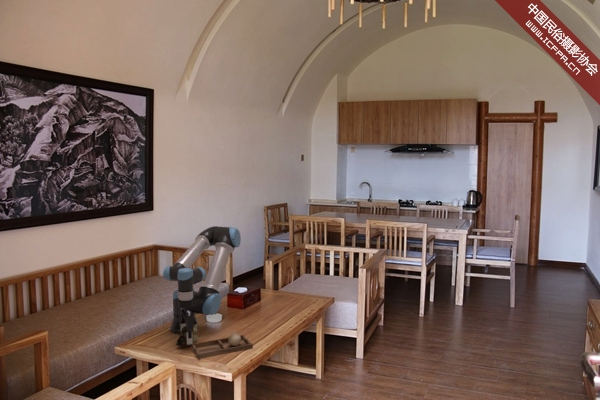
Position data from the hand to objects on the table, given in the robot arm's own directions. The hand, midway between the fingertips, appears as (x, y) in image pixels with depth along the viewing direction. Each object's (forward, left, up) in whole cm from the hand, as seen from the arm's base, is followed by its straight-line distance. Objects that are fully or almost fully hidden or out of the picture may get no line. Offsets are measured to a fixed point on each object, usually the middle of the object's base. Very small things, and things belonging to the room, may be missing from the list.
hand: (186, 340), depth 252 cm
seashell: (-1, 0, -3) cm, 3 cm away
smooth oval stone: (+13, +21, -2) cm, 25 cm away
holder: (+13, +15, -3) cm, 20 cm away
